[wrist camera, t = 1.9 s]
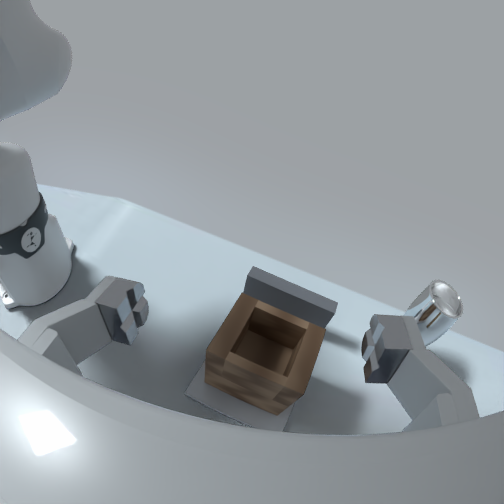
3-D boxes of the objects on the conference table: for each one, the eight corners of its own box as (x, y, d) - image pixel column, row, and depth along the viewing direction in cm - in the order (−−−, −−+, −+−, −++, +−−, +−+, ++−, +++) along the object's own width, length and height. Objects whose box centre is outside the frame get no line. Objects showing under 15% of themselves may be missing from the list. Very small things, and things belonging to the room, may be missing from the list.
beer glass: (372, 333, 42) (422, 274, 31) (403, 336, 42) (454, 282, 32) (377, 370, 37) (437, 317, 26) (410, 370, 37) (469, 321, 27)
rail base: (184, 394, 30) (181, 377, 26) (246, 293, 44) (253, 265, 39) (278, 437, 28) (295, 430, 23) (321, 326, 41) (338, 301, 37)
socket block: (204, 382, 31) (205, 349, 24) (232, 335, 37) (242, 292, 30) (277, 415, 29) (303, 394, 22) (298, 365, 35) (326, 329, 28)
